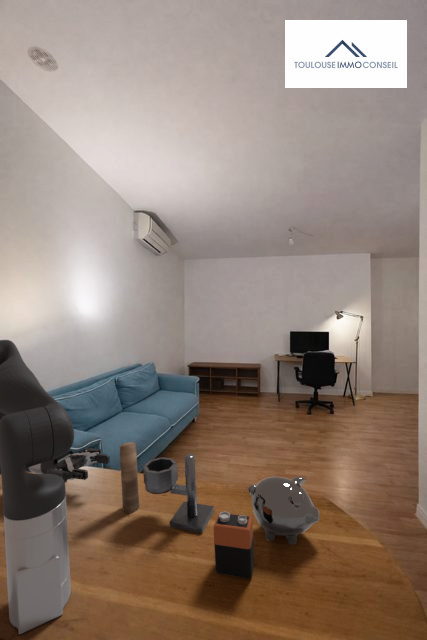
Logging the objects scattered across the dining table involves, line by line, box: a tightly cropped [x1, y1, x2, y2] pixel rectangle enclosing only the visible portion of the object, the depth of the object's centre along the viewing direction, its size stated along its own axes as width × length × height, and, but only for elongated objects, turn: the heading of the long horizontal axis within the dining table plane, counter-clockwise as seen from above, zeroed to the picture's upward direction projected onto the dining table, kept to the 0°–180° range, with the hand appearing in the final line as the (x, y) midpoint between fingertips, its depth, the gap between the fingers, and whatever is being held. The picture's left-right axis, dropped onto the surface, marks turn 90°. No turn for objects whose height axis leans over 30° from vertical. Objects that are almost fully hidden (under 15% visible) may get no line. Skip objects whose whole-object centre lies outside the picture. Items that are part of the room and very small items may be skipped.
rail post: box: [119, 441, 140, 514], centre depth 78 cm, size 4×4×16 cm
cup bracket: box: [142, 453, 215, 534], centre depth 74 cm, size 16×8×15 cm, turn 71°
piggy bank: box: [247, 476, 320, 546], centre depth 66 cm, size 11×15×12 cm
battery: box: [213, 511, 255, 580], centre depth 58 cm, size 4×7×10 cm, turn 75°
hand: (98, 466), depth 81 cm, fingers open, 8 cm apart
